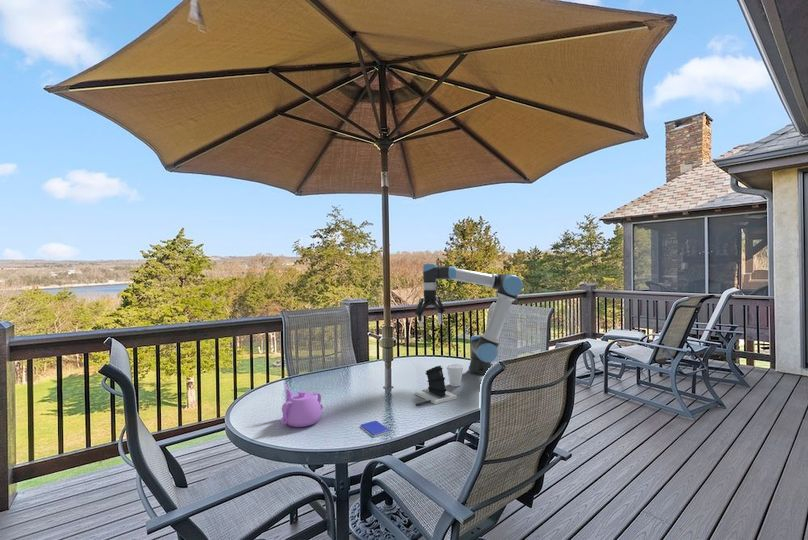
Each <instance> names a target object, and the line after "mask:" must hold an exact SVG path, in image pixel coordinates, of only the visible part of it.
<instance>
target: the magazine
mask: <svg viewBox="0 0 808 540" xmlns="http://www.w3.org/2000/svg"><path fill="white" fill-rule="evenodd" d="M443 369H444V368H443V367H442V365H436V366H434V367H432V368H429V369H427V370H425V375H426V376H427V381H426V382H427V383H428V386H427V388H428V389H429V392H431V393H434V394H436V395H438V396H440V397H443V396H445V391H447V389H446V382H445V380H446V377H444V373H443V372H444V371H443Z"/></svg>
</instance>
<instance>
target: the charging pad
mask: <svg viewBox="0 0 808 540" xmlns="http://www.w3.org/2000/svg"><path fill="white" fill-rule="evenodd" d="M414 395H415V396H418V397H420V398H422V399H424V400H423V401H421V402H417V403H416V404H415V406H421V405H424V404H427V403H432V404H434V405H438V404H441V403H445V402H449V401H453V400H457V399H458V395H457V394H454V393H452V392H450V391H448V390H446V391H445V396H443V397H440V396H438V395H436V394H434V393H431V392H429V389H428V387H427V388H424V389H419V390H415V391H414Z"/></svg>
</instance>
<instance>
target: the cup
mask: <svg viewBox="0 0 808 540" xmlns="http://www.w3.org/2000/svg"><path fill="white" fill-rule="evenodd" d="M464 367H465V366H464V364H460V363H449V364H446V370H447V376H448V382H449V385H450V386H451V387H460V386H461V384H462V380H463V379H462V378H463V371H464Z"/></svg>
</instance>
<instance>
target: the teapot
mask: <svg viewBox="0 0 808 540" xmlns="http://www.w3.org/2000/svg"><path fill="white" fill-rule="evenodd" d="M284 389H285V392H286V396H285V397H286V398H285V402H283V404H282V407H281V412H282V417H281V418H280V424H281V425H287V426H289V427H292V428H304V427H308V426H312V425H314V424H316V423H317V422H319V420H320V419H321V417H322V415H323V408H324V406H323V404H321V400H322V395H321V393H320V392H318V391H317V392H316V391H315V392H313V393H311V392H307V391H306V390H300V391H298V392H297V393H295V394H292V390H291V389H290V388H289V387H288V386H285V387H284ZM316 395H317V397H316Z"/></svg>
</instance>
